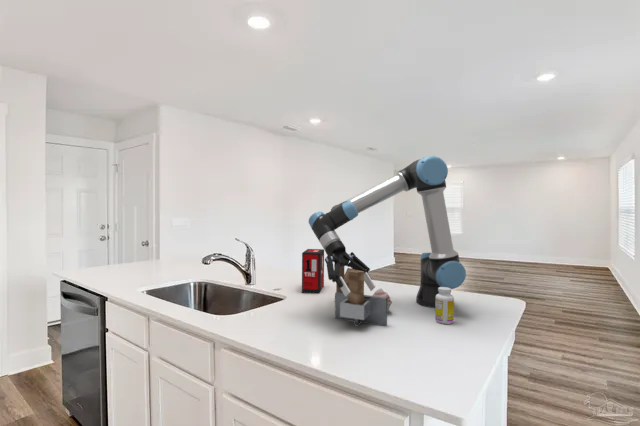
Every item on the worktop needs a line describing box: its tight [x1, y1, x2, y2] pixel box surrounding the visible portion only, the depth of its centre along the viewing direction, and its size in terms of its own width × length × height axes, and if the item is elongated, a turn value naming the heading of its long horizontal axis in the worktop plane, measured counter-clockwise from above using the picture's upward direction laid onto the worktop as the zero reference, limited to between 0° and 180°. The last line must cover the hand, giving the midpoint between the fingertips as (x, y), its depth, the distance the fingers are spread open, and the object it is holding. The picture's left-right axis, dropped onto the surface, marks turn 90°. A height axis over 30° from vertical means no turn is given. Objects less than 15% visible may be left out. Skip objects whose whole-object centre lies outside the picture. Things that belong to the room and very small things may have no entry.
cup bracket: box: [334, 291, 388, 327], centre depth 134 cm, size 20×11×10 cm, turn 66°
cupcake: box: [371, 287, 393, 315], centre depth 149 cm, size 9×9×10 cm
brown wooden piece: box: [335, 266, 354, 293], centre depth 168 cm, size 4×11×18 cm, turn 143°
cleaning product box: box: [301, 248, 325, 295], centre depth 188 cm, size 16×9×20 cm, turn 172°
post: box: [348, 270, 365, 305], centre depth 133 cm, size 4×4×15 cm
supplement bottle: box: [434, 287, 455, 325], centre depth 138 cm, size 7×7×13 cm
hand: (361, 291), depth 131 cm, fingers open, 13 cm apart
